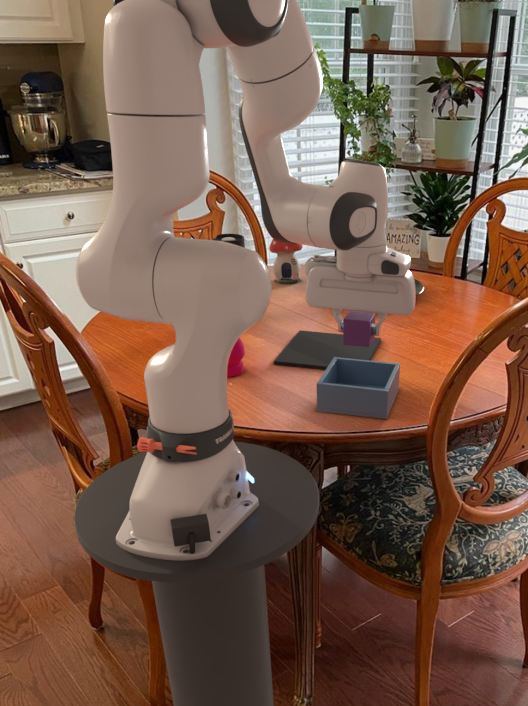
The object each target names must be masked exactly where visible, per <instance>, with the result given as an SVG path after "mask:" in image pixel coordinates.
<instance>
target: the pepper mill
mask: <svg viewBox="0 0 528 706" xmlns="http://www.w3.org/2000/svg"><path fill="white" fill-rule="evenodd" d="M245 355H246V350H245V346H244V343H243V340H242V339H241V337H240V338H239V339H238V340H237V342H236V343H235V345H234V347H233V349H232V351H231V354H230V357H229V361H228V367H227V378H231V377H236V376H239V375H242V374H243V373H244V370H245V367H244V362H243V359H244V357H245Z"/></svg>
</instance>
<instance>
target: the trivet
mask: <svg viewBox="0 0 528 706" xmlns="http://www.w3.org/2000/svg"><path fill="white" fill-rule="evenodd" d="M381 341H382V338H381V337H375V338H374V340H373V342H372V343H371V345H370V347H361V346H351V345H343V333H331V332H322V331H311V330H298V332H297V333H296V334H295V335H294V336H293V338H291V340H290V341H289V342H288V344H287V345H286V346H285V347H284V348H283V349H282V351H281V352H280V353H279V354H278V355H277V357H275V359H274V360H273V365H275V366H276V365H277V366H286V367H295V368H296V367H297V368H305V369H316V370H324V371H325V370H326V369H327V367H328V366H329V364H330V363H331V361H332V360H333V358H334V357H340V358H349V359H359V360H369V361H372V358H373V356H374V354H375V352H376V351H377V349H378V347H379V345H380V344H381Z"/></svg>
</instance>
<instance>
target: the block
mask: <svg viewBox="0 0 528 706" xmlns="http://www.w3.org/2000/svg"><path fill="white" fill-rule="evenodd" d="M343 320H344V321H343V332H342V334H343V345H351V346H361V347H370V345H371V343H372V342H373V340H374V338H376V336H375V335H371V332H372V325H373V324H376V313H373V312H362V311H351V310H348V312H347V314H346V315H345V317H344V318H343Z"/></svg>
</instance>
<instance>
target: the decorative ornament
mask: <svg viewBox="0 0 528 706" xmlns="http://www.w3.org/2000/svg"><path fill="white" fill-rule="evenodd" d="M268 248H269V252H270V253H272V254H276V257H275V259H274V262H273V266H272V270H273V271H272V272H273V274H274V276H275V277H274V278H275V280H276V282H277V283H279V284H284V285H285V284H286V285H287V284H288V285H289V284H297V283H299V282H301V277H300V274H301V263H300V260H299V259H298V257H297V256H296V255H295V253H297V252H299V251H302V249H303V245H302V244H289V243H280V242H277V241H276V240H274V239H273V238H272V240H271V242H270V244H269V247H268Z"/></svg>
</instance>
